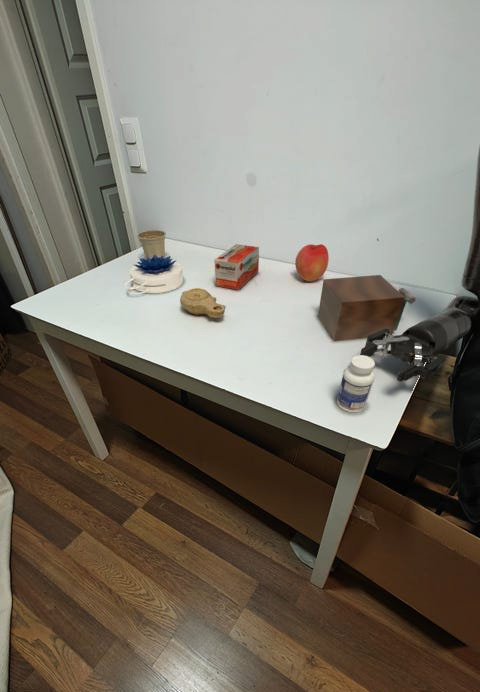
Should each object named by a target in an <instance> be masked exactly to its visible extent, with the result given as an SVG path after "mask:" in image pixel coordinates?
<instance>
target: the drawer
mask: <svg viewBox="0 0 480 692" xmlns="http://www.w3.org/2000/svg"><path fill="white" fill-rule="evenodd" d="M398 291H399V292H400V293H401V294H402V295H403V296H404V297H405V299H404V302H403V305H402V307H401V310H400V313H399V316H398V319H397V322H396V325H395V328H394V331H393V332H396V331H398V328H399V324H400V322H401V319H402V316H403V313H404V311H405V308H406V304H407V303H408V304H410V305H411V304H414V303H415V302H416V297H415V296H414V295H413V294H412V293H411V292H409V291H408V290H407V289H406V288H405V287H401V288H399V290H398Z"/></svg>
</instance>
